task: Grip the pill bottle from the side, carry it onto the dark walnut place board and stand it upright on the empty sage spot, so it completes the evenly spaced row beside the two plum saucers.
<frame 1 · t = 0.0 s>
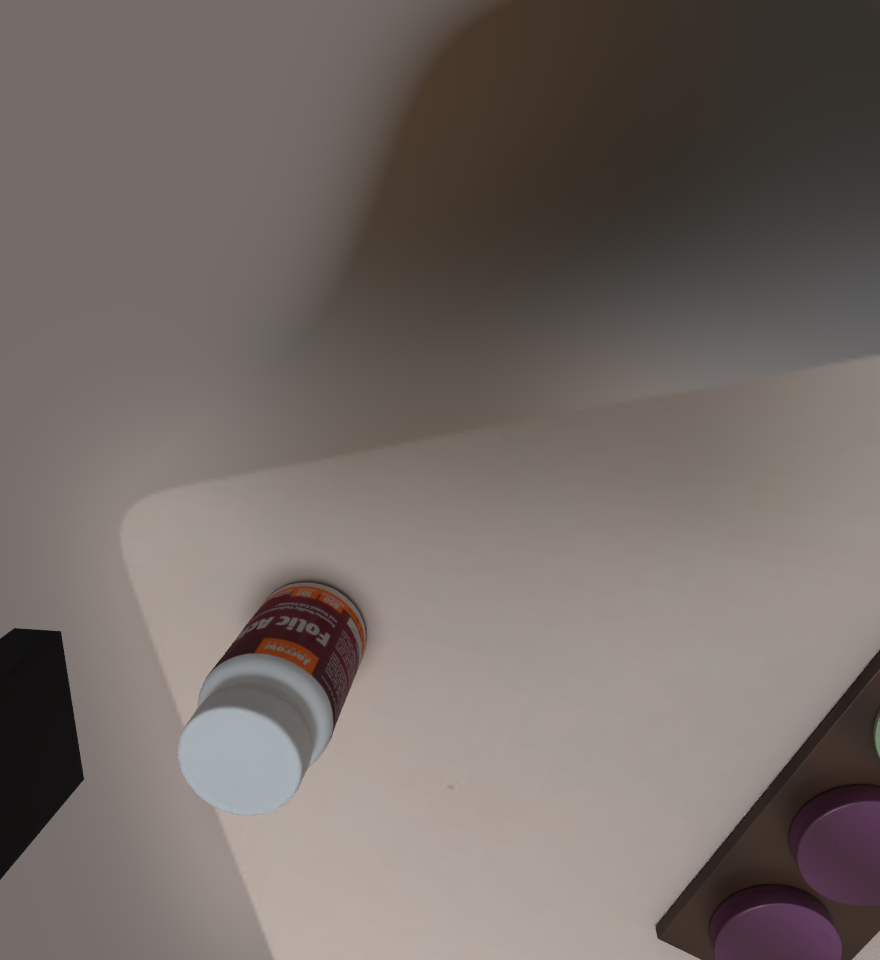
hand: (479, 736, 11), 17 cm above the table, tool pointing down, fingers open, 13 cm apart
place board: (847, 825, 30), on the table
pill bottle: (313, 628, 30), on the table
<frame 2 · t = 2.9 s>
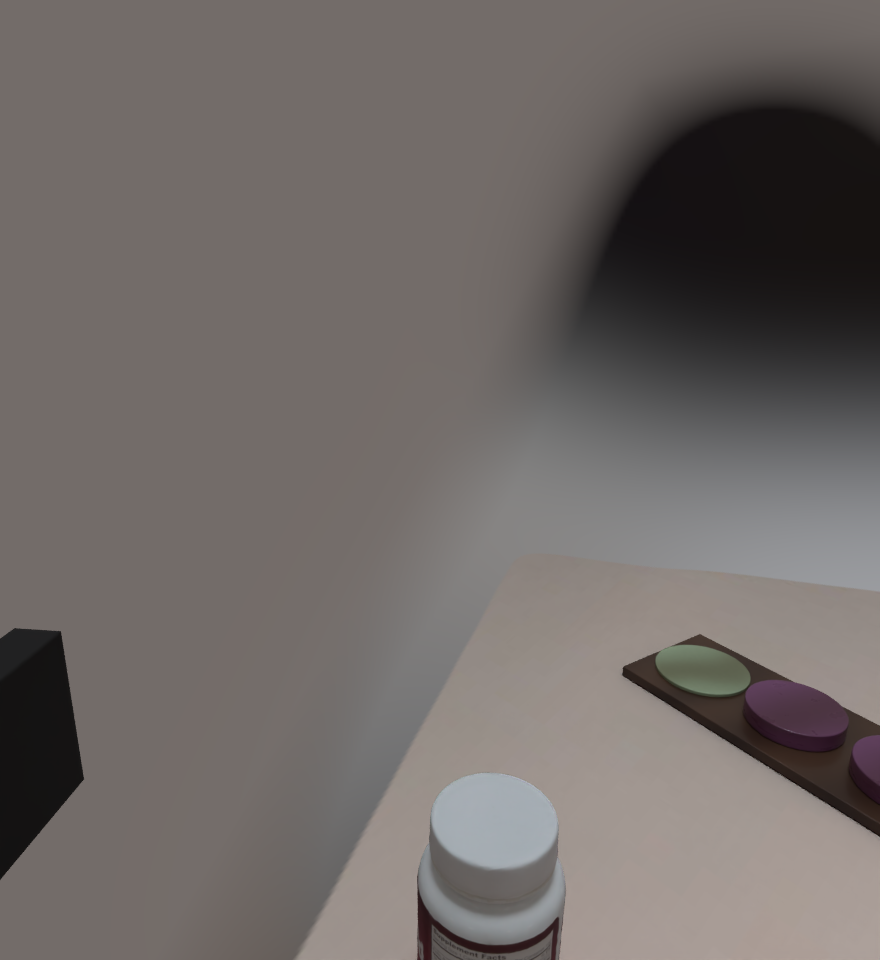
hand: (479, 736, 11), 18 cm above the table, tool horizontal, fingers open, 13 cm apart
place board: (791, 730, 40), on the table
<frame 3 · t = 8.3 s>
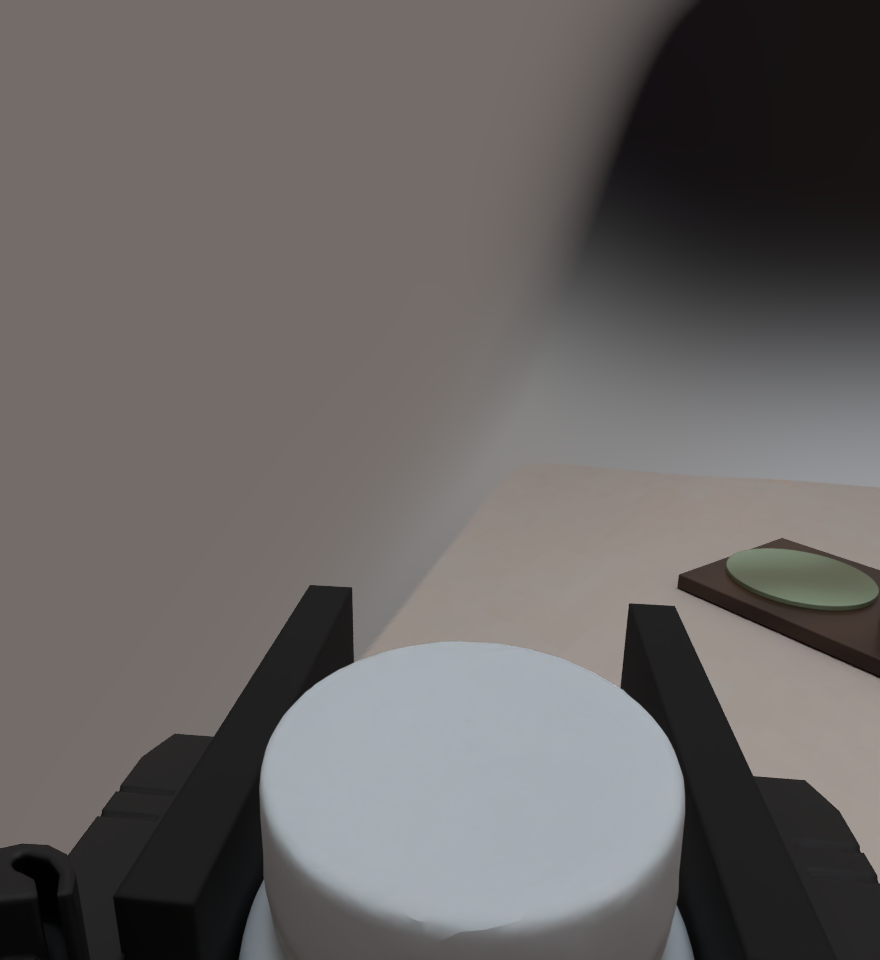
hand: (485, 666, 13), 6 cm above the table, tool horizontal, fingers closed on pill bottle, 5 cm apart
when the fingers open (7 cm above the table, at t = 17.0 s): pill bottle stays where it is, resting on place board.
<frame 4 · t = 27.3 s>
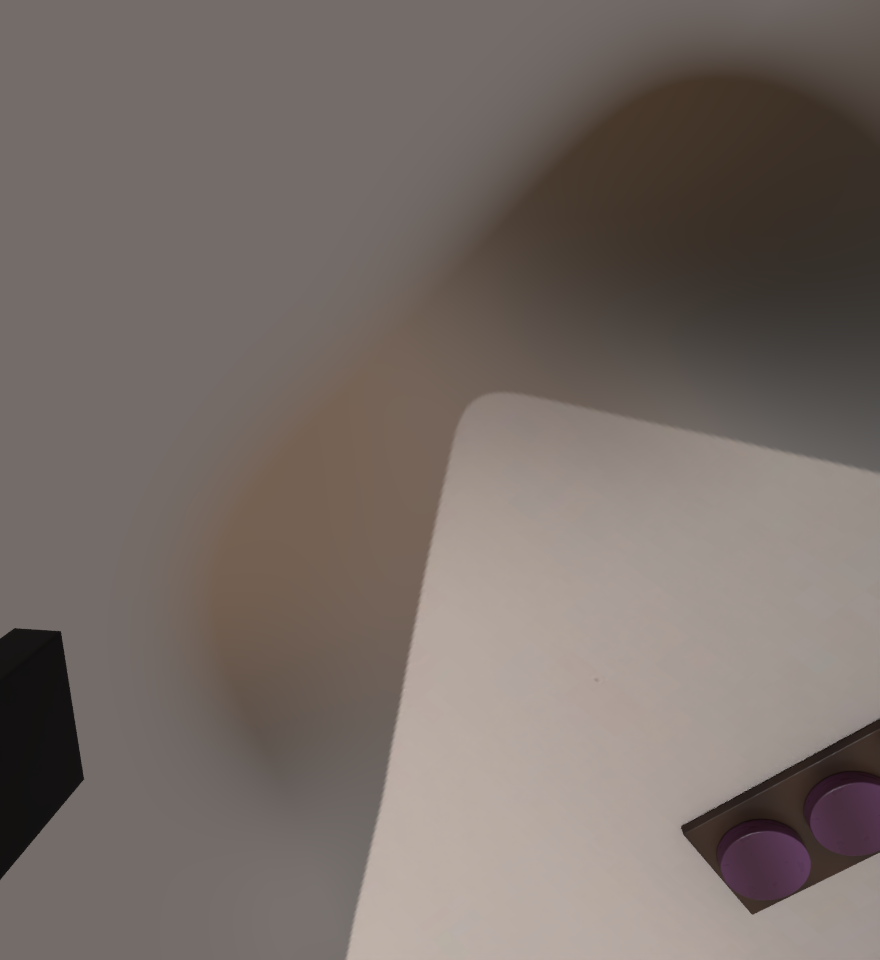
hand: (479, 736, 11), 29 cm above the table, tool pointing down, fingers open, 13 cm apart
place board: (845, 800, 43), on the table
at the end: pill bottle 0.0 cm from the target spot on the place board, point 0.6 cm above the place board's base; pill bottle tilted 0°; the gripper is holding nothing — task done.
